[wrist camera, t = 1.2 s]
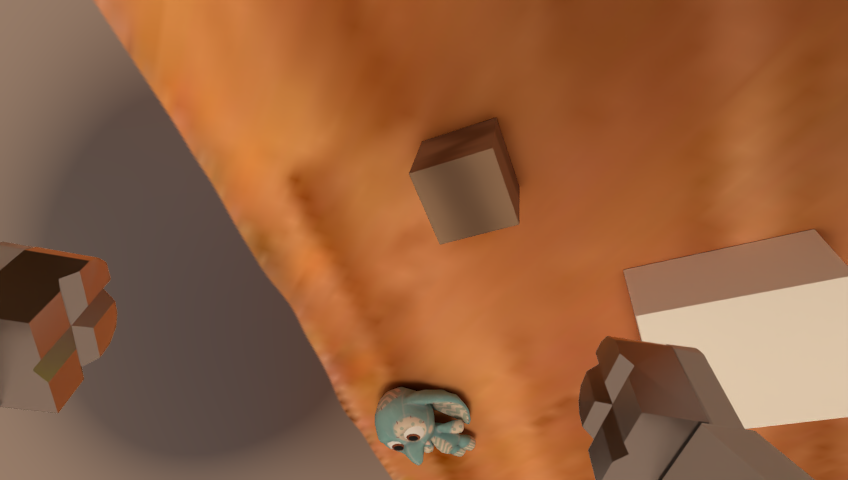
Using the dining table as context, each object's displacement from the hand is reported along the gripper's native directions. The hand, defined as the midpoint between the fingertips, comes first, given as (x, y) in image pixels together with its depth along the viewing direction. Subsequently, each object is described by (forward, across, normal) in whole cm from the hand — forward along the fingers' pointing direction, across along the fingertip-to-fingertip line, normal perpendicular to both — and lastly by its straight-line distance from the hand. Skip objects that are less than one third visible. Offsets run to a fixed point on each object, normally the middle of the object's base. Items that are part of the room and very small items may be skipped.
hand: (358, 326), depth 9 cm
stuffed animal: (+32, -7, +41) cm, 53 cm away
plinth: (+29, -29, +20) cm, 46 cm away
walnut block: (+32, -5, +11) cm, 35 cm away
